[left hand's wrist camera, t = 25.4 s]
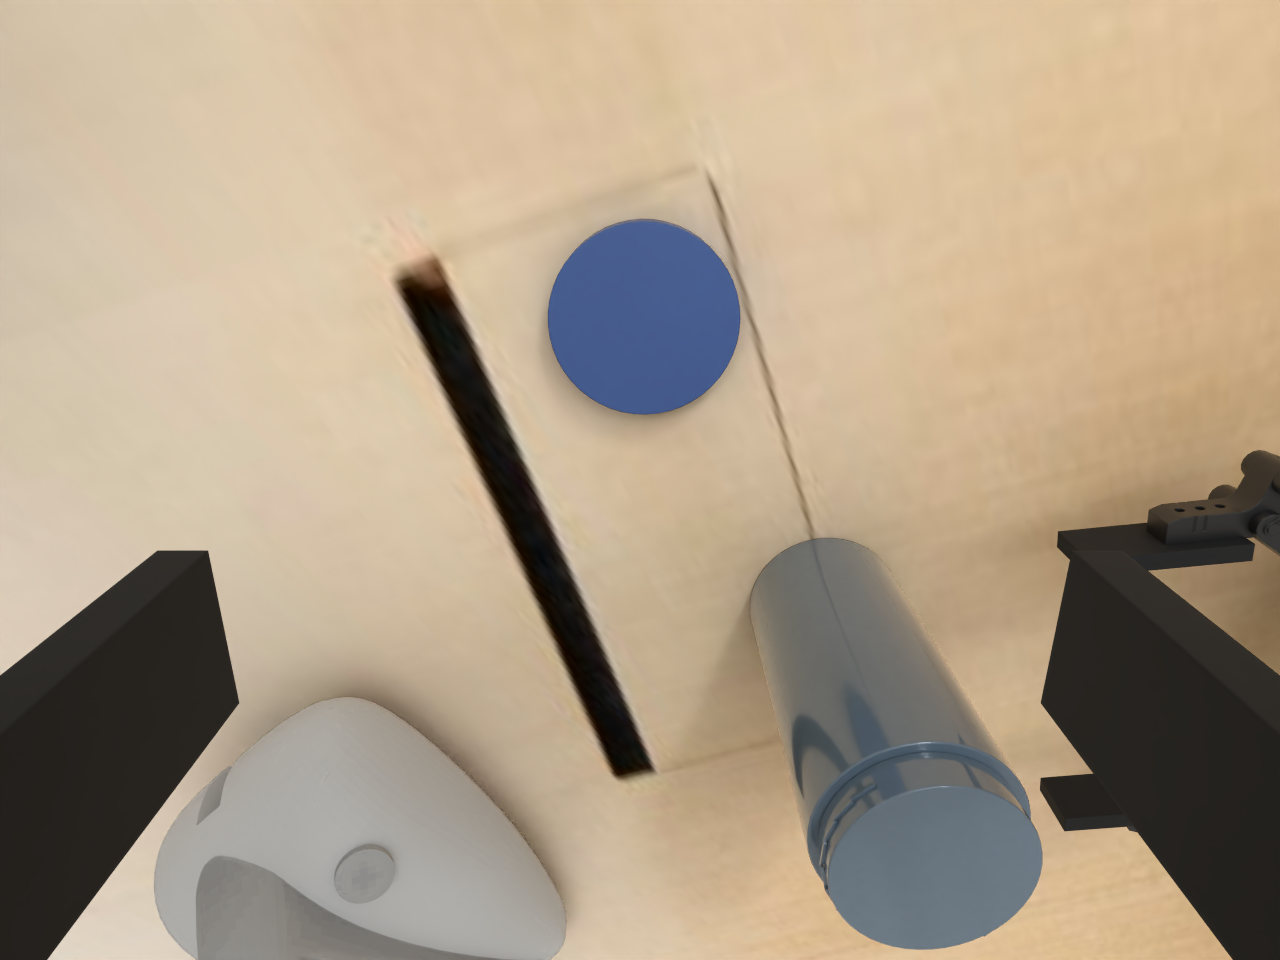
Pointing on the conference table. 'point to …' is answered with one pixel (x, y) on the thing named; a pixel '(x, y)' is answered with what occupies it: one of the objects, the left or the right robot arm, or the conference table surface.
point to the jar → (888, 755)
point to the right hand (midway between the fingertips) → (1060, 687)
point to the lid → (644, 317)
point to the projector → (352, 853)
